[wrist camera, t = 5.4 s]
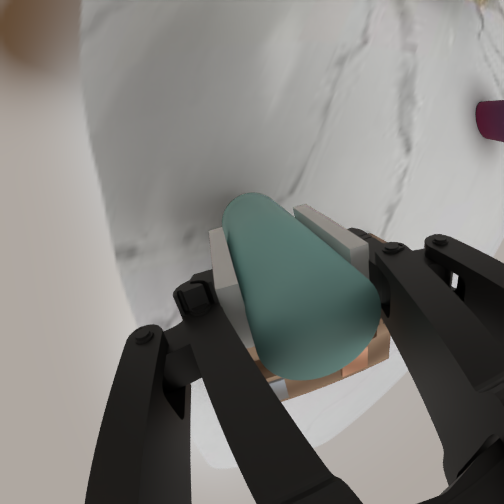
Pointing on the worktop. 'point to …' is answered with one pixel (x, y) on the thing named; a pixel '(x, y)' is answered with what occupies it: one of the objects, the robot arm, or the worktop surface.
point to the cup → (491, 119)
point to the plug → (297, 292)
